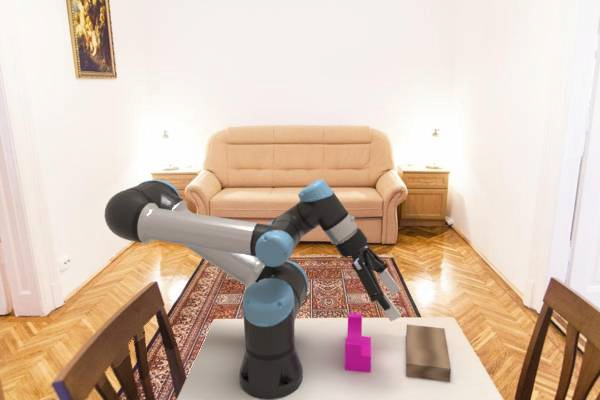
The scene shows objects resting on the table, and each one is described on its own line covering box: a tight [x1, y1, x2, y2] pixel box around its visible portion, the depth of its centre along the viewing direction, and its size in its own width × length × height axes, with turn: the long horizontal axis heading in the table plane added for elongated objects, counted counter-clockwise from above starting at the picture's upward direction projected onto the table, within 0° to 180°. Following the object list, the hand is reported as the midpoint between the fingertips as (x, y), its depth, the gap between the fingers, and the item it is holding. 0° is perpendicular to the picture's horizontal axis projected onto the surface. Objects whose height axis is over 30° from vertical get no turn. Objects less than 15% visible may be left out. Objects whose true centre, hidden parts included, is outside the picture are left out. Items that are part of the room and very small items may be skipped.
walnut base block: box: [405, 324, 452, 383], centre depth 112 cm, size 10×18×4 cm, turn 167°
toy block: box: [344, 312, 372, 373], centre depth 114 cm, size 15×6×8 cm, turn 171°
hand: (396, 304), depth 109 cm, fingers open, 13 cm apart
